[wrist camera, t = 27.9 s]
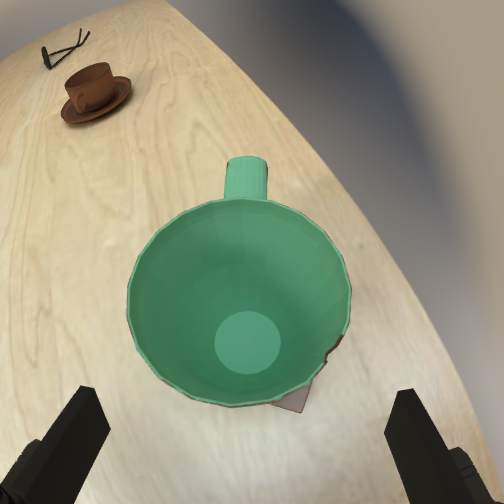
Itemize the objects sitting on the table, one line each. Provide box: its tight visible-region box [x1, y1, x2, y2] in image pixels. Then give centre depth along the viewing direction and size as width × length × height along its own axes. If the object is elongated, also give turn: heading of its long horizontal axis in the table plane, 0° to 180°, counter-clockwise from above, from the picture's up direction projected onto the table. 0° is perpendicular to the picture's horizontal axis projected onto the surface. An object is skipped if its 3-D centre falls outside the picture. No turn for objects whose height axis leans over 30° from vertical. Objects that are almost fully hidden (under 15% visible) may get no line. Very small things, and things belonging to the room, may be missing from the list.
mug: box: [126, 156, 352, 408], centre depth 18 cm, size 15×10×10 cm
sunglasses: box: [41, 28, 90, 69], centre depth 56 cm, size 17×14×5 cm
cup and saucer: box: [61, 62, 131, 123], centre depth 37 cm, size 12×12×6 cm
